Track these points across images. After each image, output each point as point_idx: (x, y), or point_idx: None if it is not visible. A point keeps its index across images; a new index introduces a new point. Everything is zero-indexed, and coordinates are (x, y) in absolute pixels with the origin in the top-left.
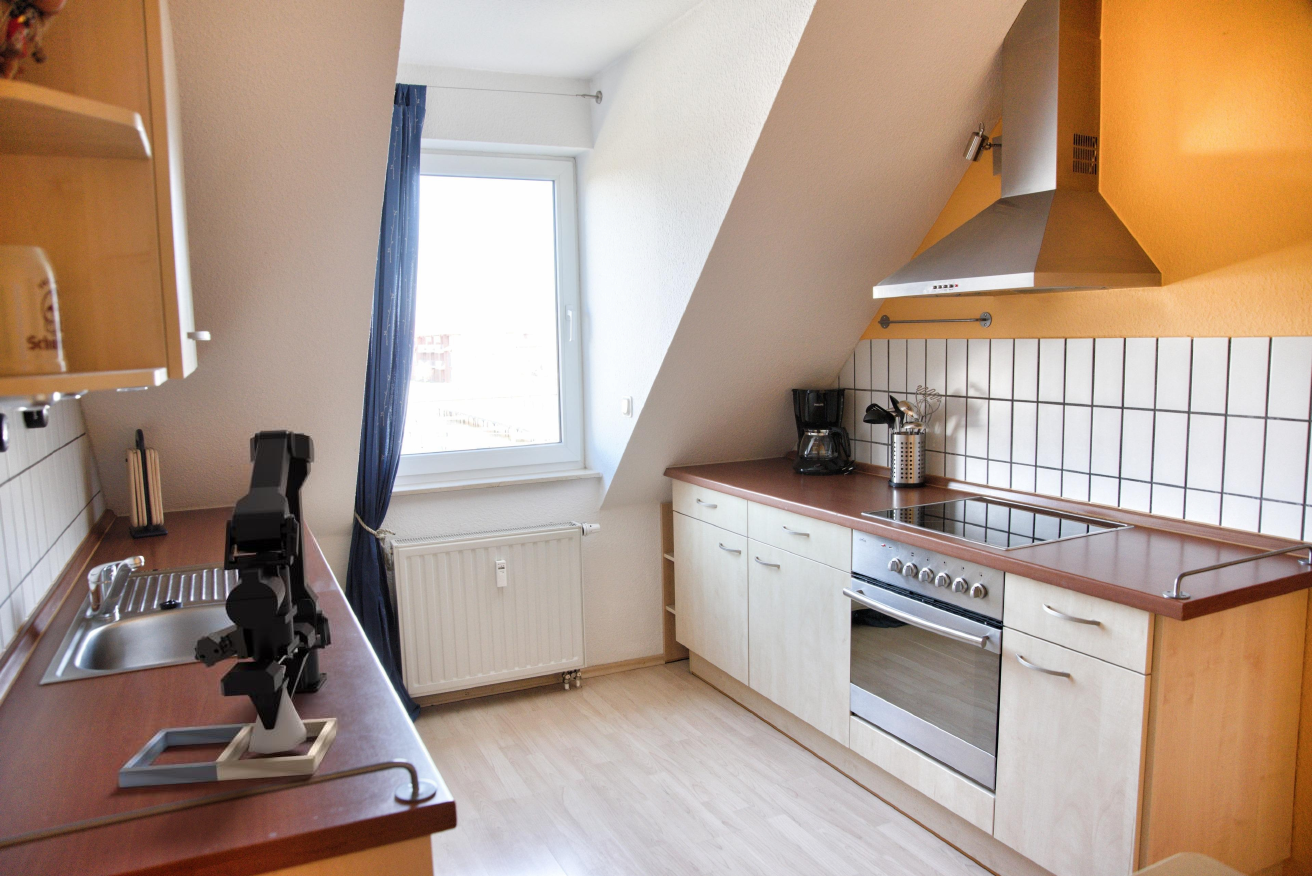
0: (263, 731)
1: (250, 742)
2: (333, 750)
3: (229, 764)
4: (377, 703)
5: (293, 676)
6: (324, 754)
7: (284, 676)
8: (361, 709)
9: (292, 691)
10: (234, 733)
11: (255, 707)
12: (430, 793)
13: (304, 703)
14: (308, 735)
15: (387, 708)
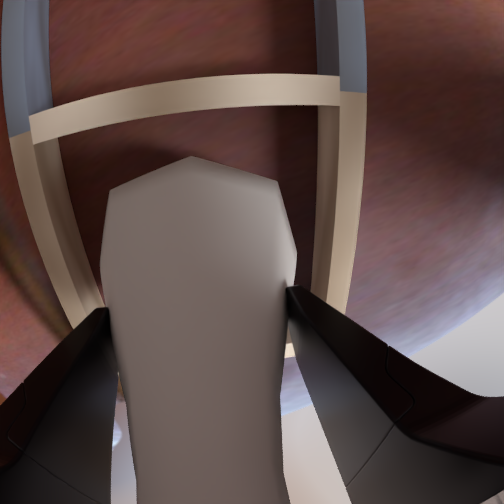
0: (108, 287)
1: (113, 206)
2: None
3: (18, 180)
4: (432, 330)
5: (345, 470)
6: None
7: (358, 455)
8: (420, 316)
9: (314, 404)
10: (327, 42)
11: (16, 391)
12: None
13: (492, 184)
14: (313, 268)
15: (403, 354)
